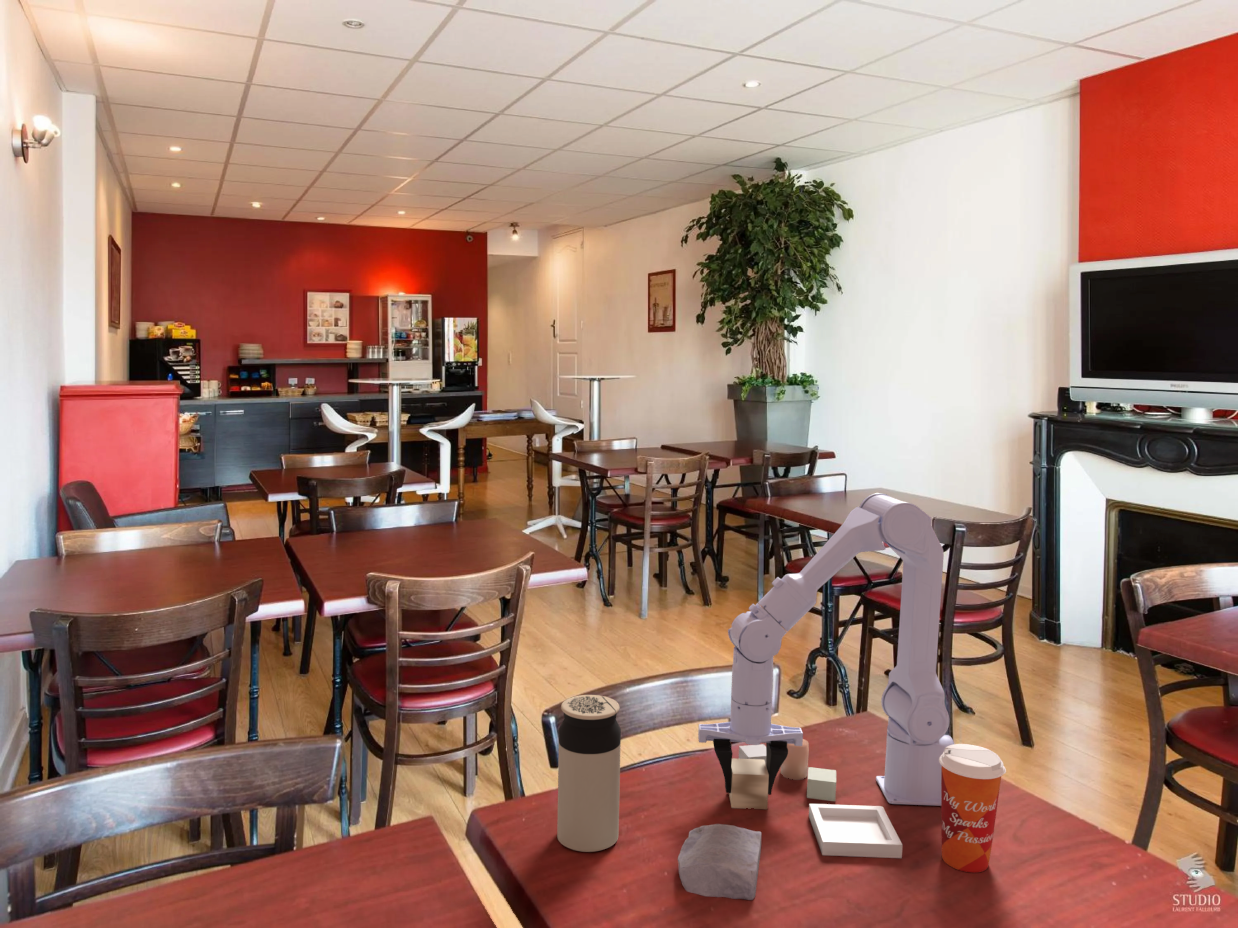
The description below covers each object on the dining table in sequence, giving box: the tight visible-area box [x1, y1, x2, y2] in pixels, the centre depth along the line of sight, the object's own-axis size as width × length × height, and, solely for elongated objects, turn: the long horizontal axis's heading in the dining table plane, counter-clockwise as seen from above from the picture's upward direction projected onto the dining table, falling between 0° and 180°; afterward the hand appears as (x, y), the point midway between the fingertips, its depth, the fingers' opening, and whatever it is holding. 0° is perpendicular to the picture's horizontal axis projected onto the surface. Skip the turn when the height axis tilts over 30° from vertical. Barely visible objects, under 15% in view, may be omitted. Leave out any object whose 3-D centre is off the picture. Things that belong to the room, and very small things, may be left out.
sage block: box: [806, 766, 837, 802], centre depth 133 cm, size 4×4×3 cm
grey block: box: [738, 743, 766, 764], centre depth 138 cm, size 4×4×4 cm
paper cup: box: [939, 743, 1007, 874], centre depth 115 cm, size 8×8×14 cm
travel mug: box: [556, 694, 622, 853], centre depth 118 cm, size 8×8×18 cm
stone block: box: [677, 823, 762, 901], centre depth 112 cm, size 12×5×10 cm
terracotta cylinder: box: [780, 738, 810, 781], centre depth 138 cm, size 4×4×5 cm
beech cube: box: [728, 757, 769, 810], centre depth 130 cm, size 5×5×5 cm
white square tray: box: [808, 803, 903, 859], centre depth 121 cm, size 10×10×2 cm
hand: (747, 790), depth 130 cm, fingers closed on beech cube, 5 cm apart
